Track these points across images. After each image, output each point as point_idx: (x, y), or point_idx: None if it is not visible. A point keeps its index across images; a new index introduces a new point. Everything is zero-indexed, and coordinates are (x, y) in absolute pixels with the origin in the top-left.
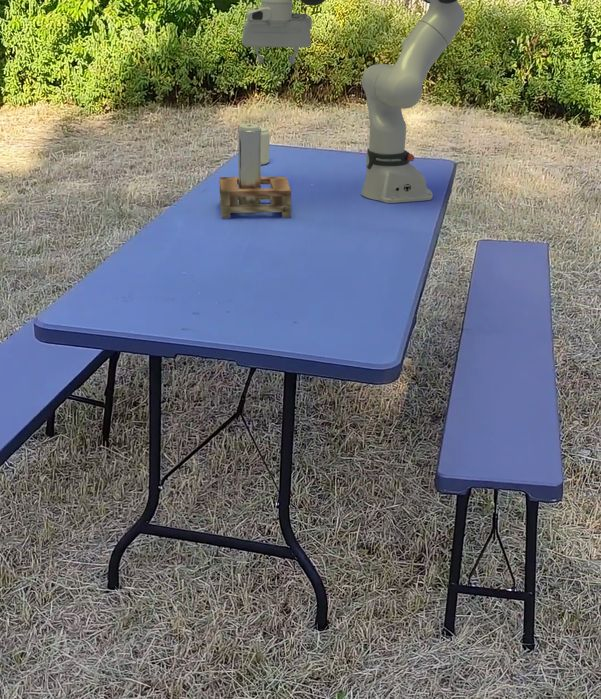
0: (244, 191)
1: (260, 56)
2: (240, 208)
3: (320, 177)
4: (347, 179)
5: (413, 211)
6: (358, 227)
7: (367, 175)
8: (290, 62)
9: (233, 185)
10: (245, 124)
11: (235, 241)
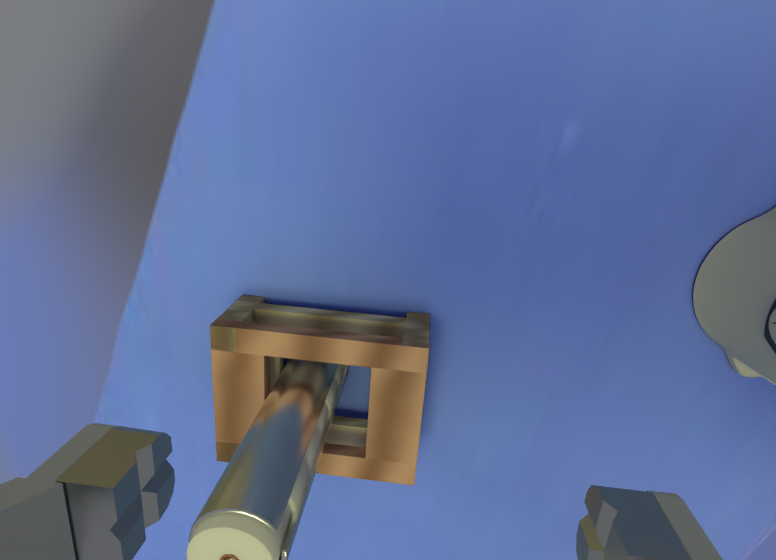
0: None
1: (75, 529)
2: None
3: (638, 27)
4: (737, 70)
5: (771, 443)
6: (563, 522)
7: (747, 315)
8: (586, 552)
9: (252, 415)
10: (213, 539)
11: None
